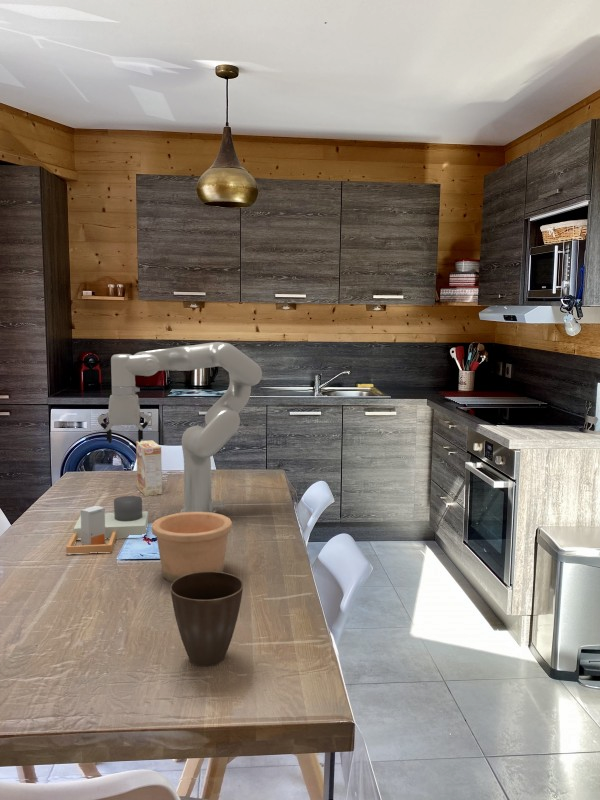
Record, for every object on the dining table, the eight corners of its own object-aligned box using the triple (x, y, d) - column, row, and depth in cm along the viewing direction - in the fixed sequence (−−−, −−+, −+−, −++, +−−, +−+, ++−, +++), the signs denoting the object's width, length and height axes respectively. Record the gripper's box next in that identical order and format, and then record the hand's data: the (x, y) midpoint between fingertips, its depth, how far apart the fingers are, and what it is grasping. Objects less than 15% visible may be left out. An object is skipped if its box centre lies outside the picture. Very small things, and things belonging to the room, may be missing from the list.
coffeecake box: (136, 487, 281) (135, 441, 279) (154, 486, 284) (153, 439, 282) (144, 496, 268) (143, 447, 265) (162, 494, 271) (161, 446, 268)
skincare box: (89, 550, 208) (88, 512, 206) (81, 547, 210) (79, 509, 209) (106, 545, 213) (105, 507, 211) (97, 542, 215) (96, 505, 214)
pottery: (155, 592, 177) (154, 538, 175) (150, 562, 198) (149, 514, 196) (238, 584, 183) (238, 532, 181) (225, 555, 204) (224, 508, 202)
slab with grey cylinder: (148, 522, 235) (147, 494, 234) (142, 551, 207) (141, 519, 206) (81, 525, 232) (80, 496, 231) (66, 555, 203) (65, 522, 202)
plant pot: (245, 640, 152) (244, 570, 150) (241, 675, 137) (241, 599, 135) (177, 641, 151) (175, 571, 149) (166, 676, 136) (164, 600, 134)
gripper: (150, 389, 233) (151, 439, 236) (98, 390, 231) (99, 440, 233) (149, 392, 226) (150, 443, 228) (95, 393, 223) (96, 444, 225)
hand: (125, 441), depth 230 cm, fingers open, 9 cm apart
